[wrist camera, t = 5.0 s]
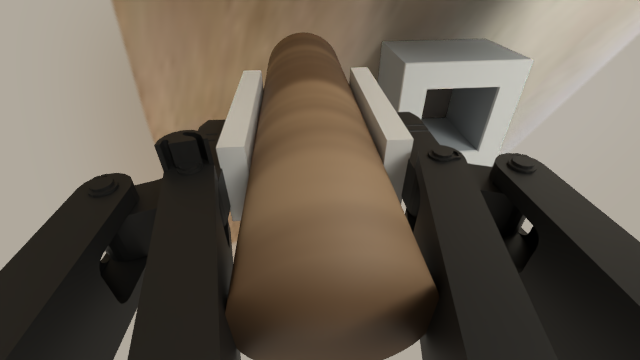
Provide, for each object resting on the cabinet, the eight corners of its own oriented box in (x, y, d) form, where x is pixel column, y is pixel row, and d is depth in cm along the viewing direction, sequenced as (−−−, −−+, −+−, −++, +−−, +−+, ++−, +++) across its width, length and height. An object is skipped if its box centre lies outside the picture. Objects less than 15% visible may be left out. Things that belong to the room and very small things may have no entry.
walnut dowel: (264, 33, 17) (199, 262, 5) (339, 31, 17) (466, 245, 5) (271, 105, 19) (241, 379, 7) (337, 102, 19) (418, 363, 7)
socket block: (382, 41, 29) (406, 63, 23) (485, 38, 30) (534, 60, 24) (372, 137, 35) (389, 174, 29) (458, 133, 36) (492, 168, 30)
